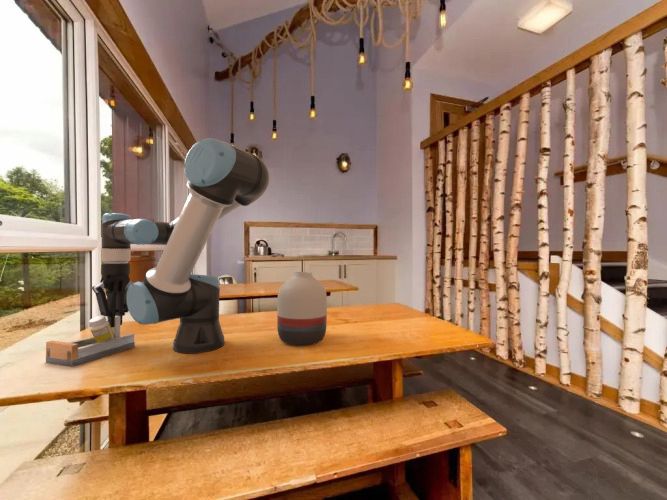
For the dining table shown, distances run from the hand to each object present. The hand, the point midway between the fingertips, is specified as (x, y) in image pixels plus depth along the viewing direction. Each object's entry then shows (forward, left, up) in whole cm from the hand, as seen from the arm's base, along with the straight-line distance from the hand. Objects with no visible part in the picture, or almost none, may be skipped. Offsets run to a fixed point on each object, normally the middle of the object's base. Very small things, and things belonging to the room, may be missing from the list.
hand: (114, 336), depth 96 cm
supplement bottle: (-1, +3, -1) cm, 3 cm away
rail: (-1, +7, -3) cm, 7 cm away
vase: (-54, -25, -4) cm, 59 cm away
